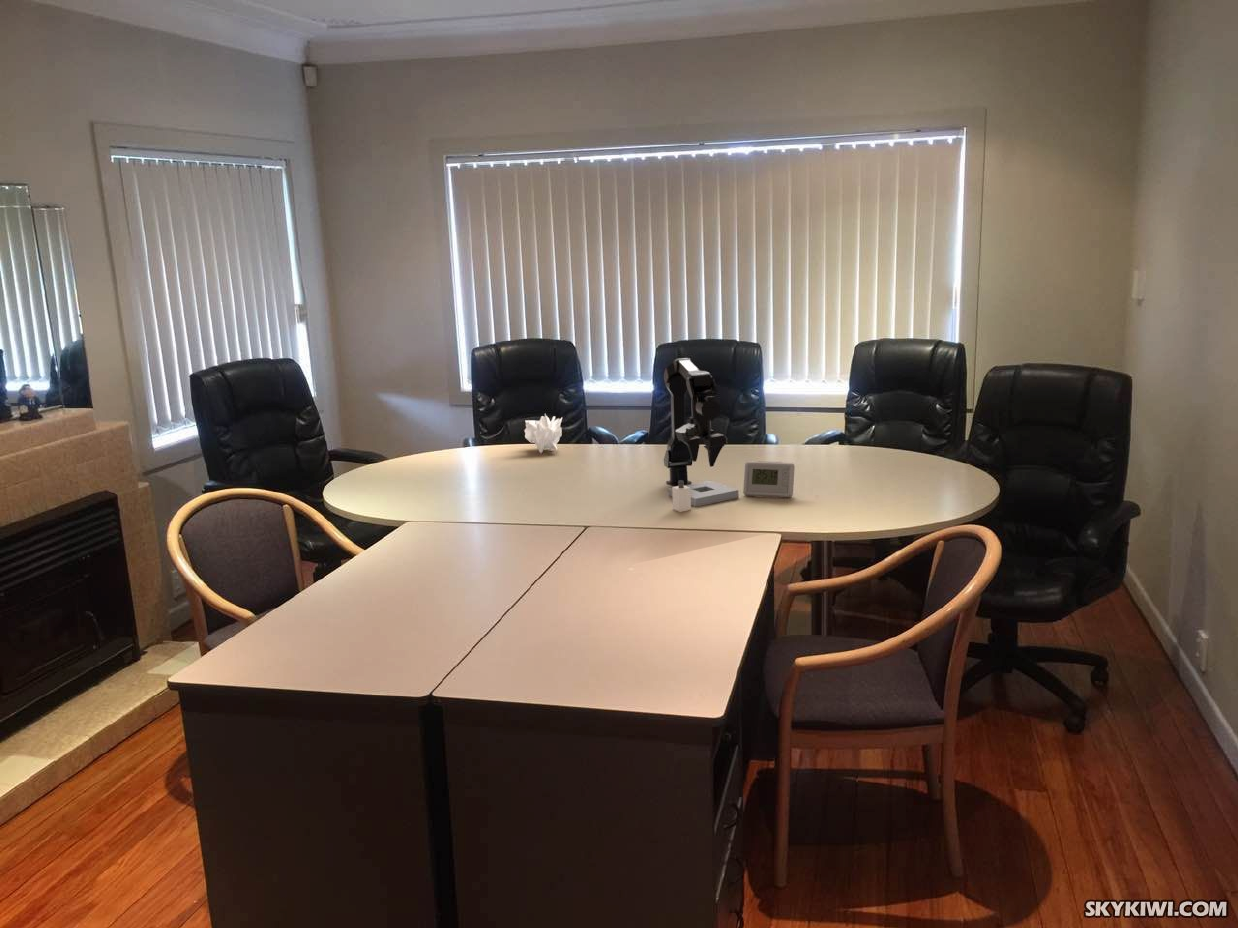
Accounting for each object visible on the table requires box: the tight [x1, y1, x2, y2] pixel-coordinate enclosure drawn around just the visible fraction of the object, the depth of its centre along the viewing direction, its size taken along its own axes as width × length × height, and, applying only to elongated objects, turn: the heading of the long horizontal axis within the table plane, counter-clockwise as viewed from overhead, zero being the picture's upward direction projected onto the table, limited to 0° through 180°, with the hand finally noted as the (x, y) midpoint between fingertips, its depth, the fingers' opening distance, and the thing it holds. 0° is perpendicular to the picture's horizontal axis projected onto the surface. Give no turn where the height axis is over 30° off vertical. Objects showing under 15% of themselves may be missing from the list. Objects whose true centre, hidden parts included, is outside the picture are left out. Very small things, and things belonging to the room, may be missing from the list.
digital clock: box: [742, 460, 796, 499], centre depth 325 cm, size 16×9×11 cm, turn 56°
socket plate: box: [668, 480, 739, 507], centre depth 328 cm, size 16×16×2 cm
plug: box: [671, 480, 692, 513], centre depth 315 cm, size 4×4×9 cm
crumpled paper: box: [524, 413, 563, 454], centre depth 408 cm, size 20×17×15 cm
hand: (703, 463), depth 316 cm, fingers open, 9 cm apart
